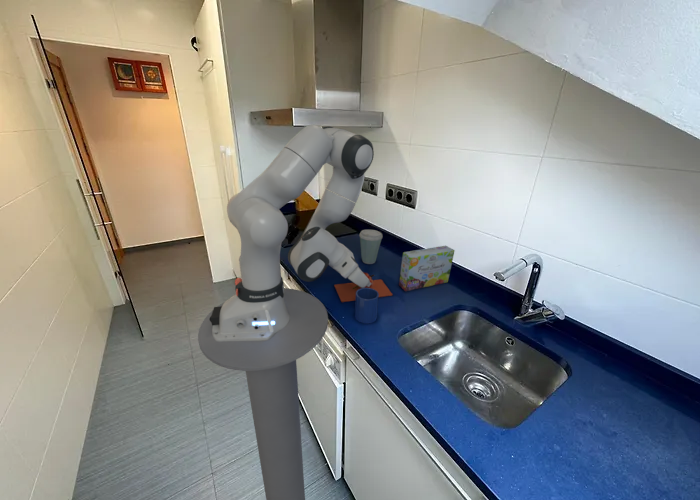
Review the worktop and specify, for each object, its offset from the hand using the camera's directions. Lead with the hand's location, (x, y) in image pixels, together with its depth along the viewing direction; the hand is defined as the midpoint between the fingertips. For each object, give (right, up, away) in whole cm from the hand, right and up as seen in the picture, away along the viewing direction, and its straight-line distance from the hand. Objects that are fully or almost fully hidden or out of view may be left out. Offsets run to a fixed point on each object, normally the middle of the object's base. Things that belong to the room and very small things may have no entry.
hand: (365, 279), depth 109 cm
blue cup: (0, -11, -13) cm, 17 cm away
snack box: (+25, -3, +8) cm, 26 cm away
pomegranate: (-1, -4, +2) cm, 5 cm away
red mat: (-1, -5, +2) cm, 5 cm away
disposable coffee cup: (+3, +6, +26) cm, 27 cm away
